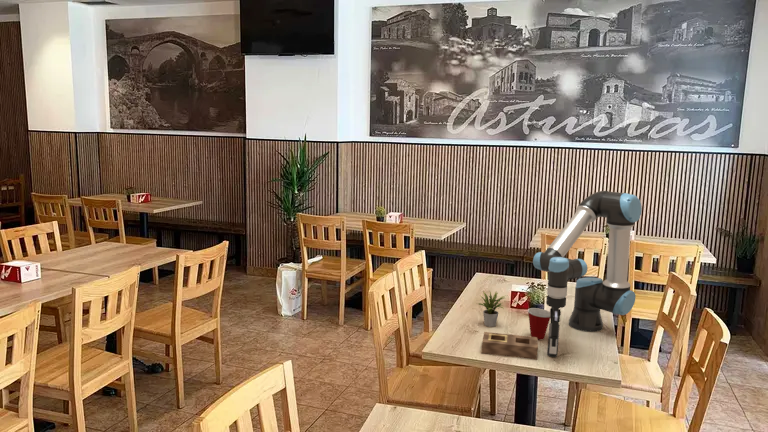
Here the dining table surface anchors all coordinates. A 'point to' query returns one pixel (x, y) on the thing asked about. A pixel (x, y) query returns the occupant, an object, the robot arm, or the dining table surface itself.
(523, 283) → the dining table surface
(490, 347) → the hole block
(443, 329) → the dining table surface
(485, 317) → the house plant
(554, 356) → the pin
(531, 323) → the plastic cup
